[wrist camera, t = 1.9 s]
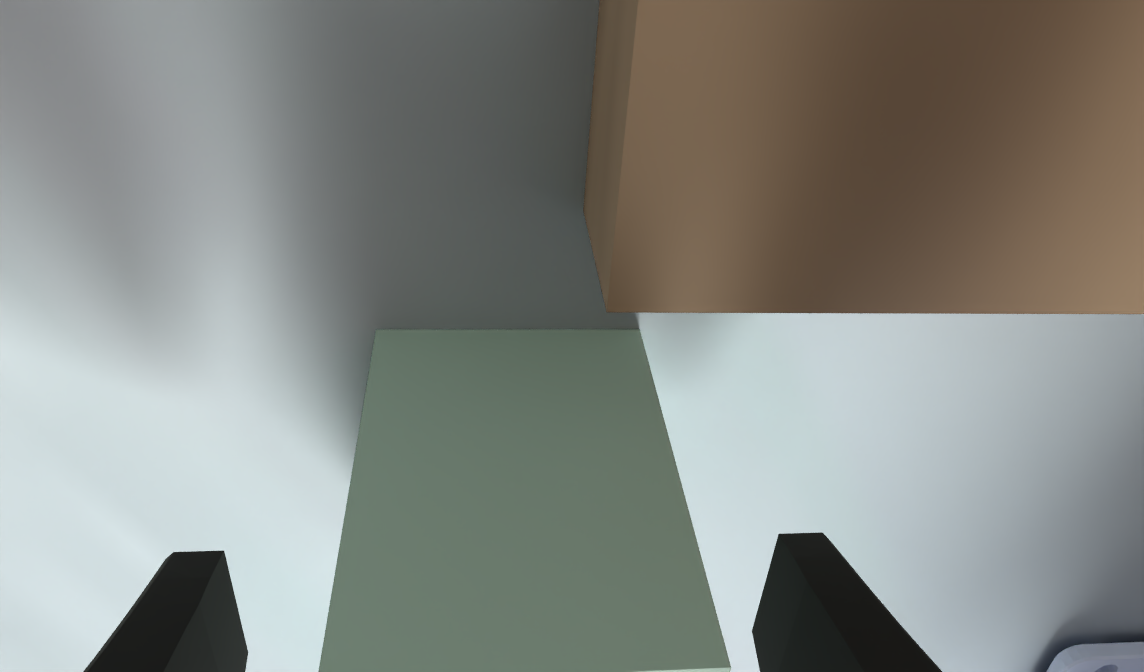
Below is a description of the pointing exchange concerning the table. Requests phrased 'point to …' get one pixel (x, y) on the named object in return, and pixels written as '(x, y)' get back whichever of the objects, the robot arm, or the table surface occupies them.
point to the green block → (517, 513)
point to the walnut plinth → (868, 156)
